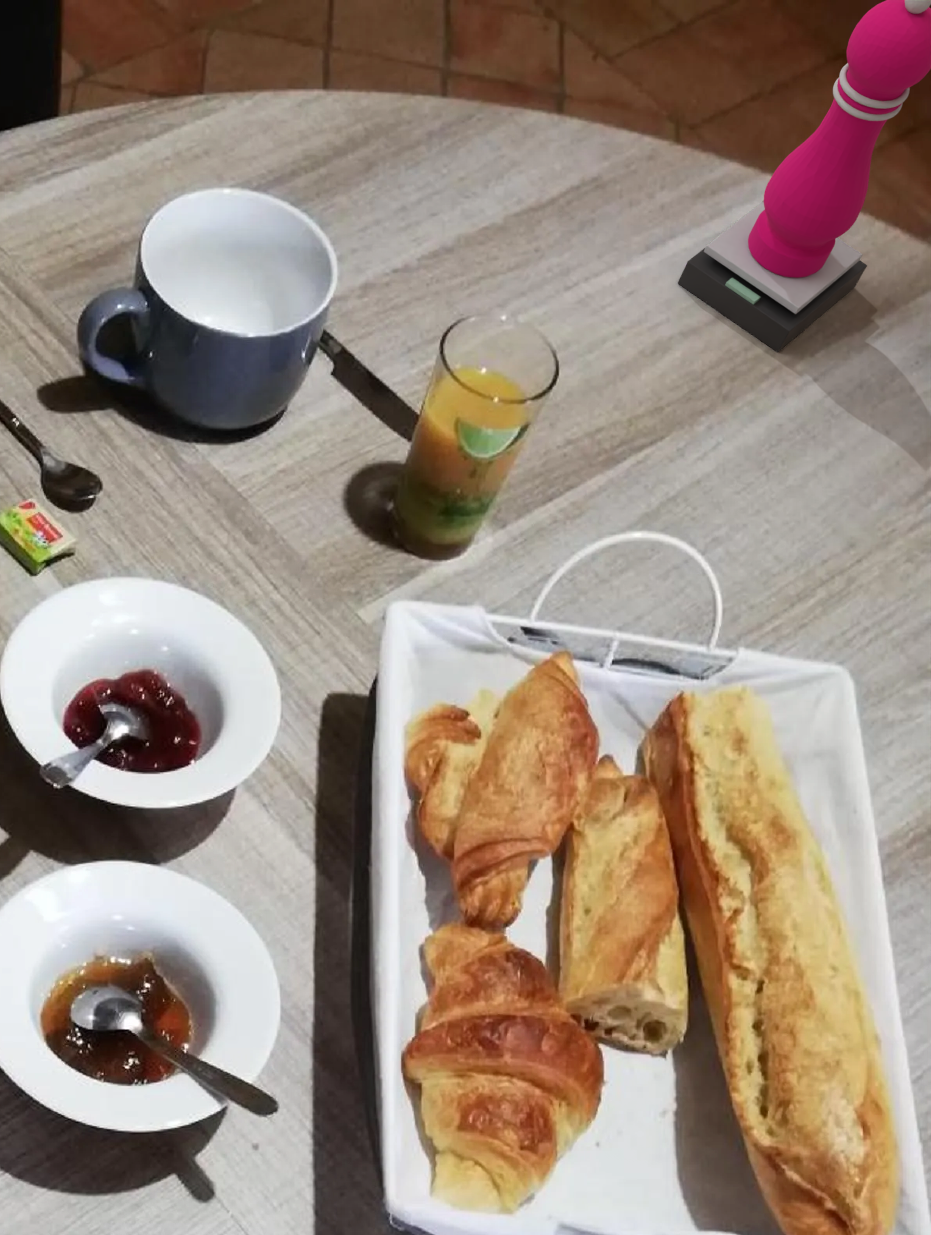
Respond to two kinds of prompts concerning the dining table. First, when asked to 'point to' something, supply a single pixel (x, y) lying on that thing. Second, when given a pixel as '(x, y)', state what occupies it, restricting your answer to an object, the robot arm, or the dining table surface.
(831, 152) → the pepper mill
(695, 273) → the scale
